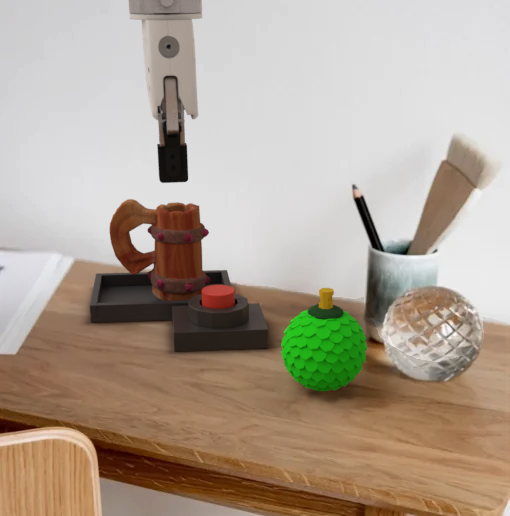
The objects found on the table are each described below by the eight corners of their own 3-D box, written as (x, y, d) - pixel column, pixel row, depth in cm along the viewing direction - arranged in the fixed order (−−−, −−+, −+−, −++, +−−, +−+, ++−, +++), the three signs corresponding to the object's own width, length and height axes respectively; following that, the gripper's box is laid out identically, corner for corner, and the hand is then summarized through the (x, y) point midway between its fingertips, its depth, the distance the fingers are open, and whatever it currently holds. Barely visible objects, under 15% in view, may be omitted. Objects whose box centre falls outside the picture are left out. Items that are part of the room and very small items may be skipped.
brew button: (202, 311, 90) (202, 296, 89) (201, 299, 93) (200, 284, 92) (236, 310, 90) (236, 294, 90) (233, 298, 94) (233, 283, 93)
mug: (213, 290, 105) (212, 195, 100) (207, 309, 99) (205, 208, 94) (120, 287, 106) (115, 193, 101) (109, 306, 100) (102, 206, 95)
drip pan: (90, 322, 96) (89, 305, 96) (96, 289, 107) (95, 273, 106) (235, 317, 98) (235, 301, 97) (227, 285, 109) (227, 269, 108)
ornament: (351, 413, 77) (357, 310, 73) (268, 398, 79) (269, 298, 75) (373, 378, 84) (380, 282, 79) (295, 365, 86) (298, 271, 82)
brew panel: (174, 351, 89) (173, 316, 87) (172, 323, 96) (171, 290, 95) (268, 348, 90) (268, 313, 88) (259, 321, 97) (259, 288, 96)
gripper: (207, 5, 81) (212, 195, 88) (197, 1, 94) (202, 166, 102) (128, 6, 80) (140, 198, 87) (129, 2, 93) (139, 168, 101)
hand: (173, 180), depth 94 cm, fingers closed
